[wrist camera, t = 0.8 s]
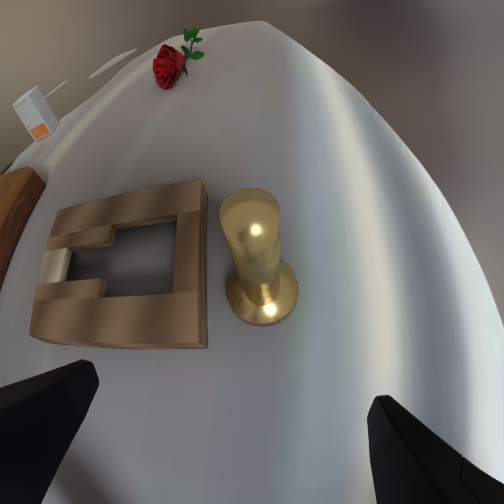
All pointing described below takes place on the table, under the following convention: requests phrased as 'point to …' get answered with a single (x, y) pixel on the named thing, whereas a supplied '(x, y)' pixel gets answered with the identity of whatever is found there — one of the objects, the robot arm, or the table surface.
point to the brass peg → (257, 258)
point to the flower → (174, 60)
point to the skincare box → (36, 114)
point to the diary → (16, 210)
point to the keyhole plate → (128, 307)
